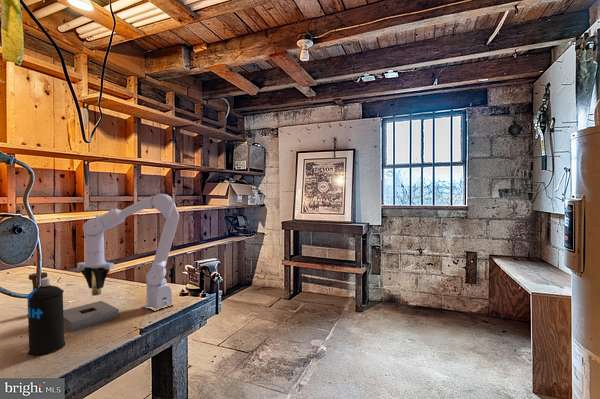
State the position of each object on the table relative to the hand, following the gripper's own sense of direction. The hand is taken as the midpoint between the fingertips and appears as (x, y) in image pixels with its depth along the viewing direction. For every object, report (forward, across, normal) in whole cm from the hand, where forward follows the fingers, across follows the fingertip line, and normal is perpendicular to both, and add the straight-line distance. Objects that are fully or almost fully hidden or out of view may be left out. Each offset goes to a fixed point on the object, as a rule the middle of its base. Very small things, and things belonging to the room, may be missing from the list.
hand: (96, 287), depth 115 cm
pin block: (+9, -2, +5) cm, 11 cm away
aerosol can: (+10, -10, +26) cm, 29 cm away
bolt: (+10, +22, +4) cm, 24 cm away
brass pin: (+2, 0, 0) cm, 2 cm away
